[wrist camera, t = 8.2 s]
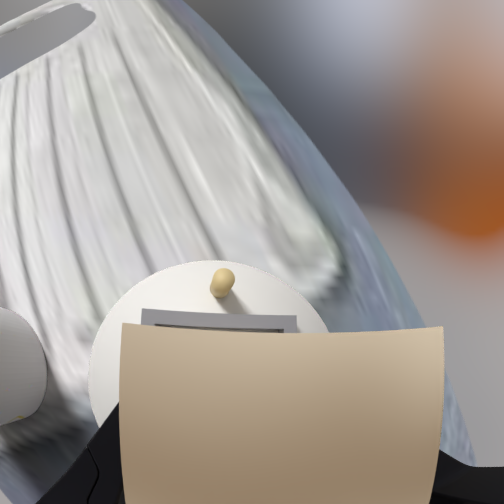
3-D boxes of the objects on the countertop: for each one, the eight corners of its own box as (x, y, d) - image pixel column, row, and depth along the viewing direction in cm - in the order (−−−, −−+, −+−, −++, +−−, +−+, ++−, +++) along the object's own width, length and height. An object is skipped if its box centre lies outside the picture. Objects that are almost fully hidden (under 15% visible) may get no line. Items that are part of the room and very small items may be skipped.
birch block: (264, 433, 15) (413, 554, 3) (174, 432, 14) (146, 598, 2) (266, 350, 16) (443, 326, 4) (176, 346, 15) (122, 322, 3)
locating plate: (329, 481, 16) (353, 498, 13) (100, 484, 13) (85, 504, 10) (329, 271, 21) (353, 256, 18) (102, 256, 18) (87, 237, 15)
